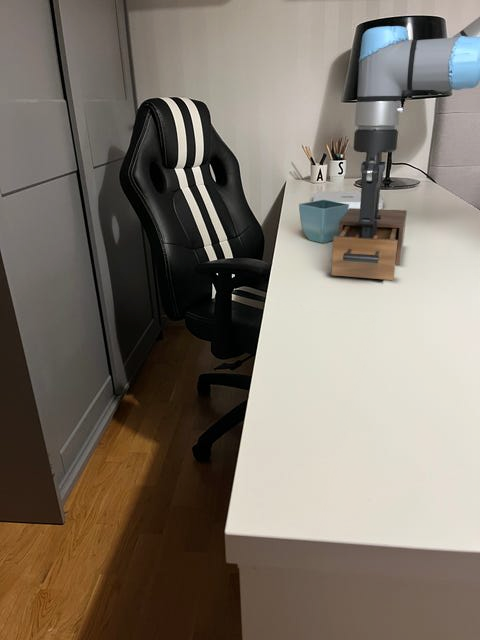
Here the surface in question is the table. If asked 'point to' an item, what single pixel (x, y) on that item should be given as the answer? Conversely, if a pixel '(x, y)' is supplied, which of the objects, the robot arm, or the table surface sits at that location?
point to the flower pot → (321, 219)
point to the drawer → (365, 254)
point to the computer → (343, 198)
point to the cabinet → (380, 224)
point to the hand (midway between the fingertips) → (365, 255)
